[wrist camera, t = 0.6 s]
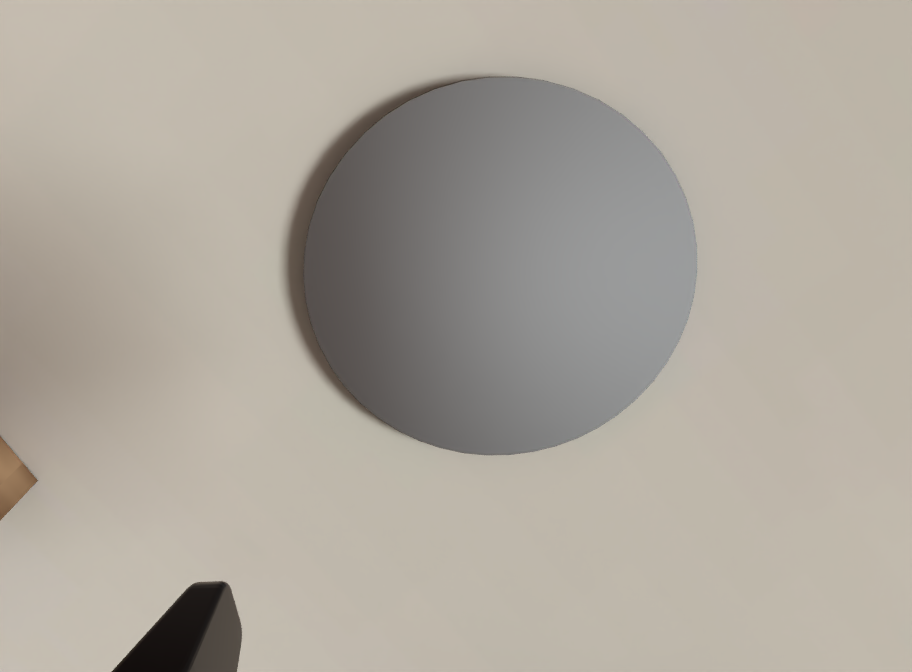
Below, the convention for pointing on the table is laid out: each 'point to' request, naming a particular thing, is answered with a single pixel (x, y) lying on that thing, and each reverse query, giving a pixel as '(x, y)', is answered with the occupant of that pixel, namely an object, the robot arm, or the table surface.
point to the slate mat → (500, 266)
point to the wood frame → (12, 479)
